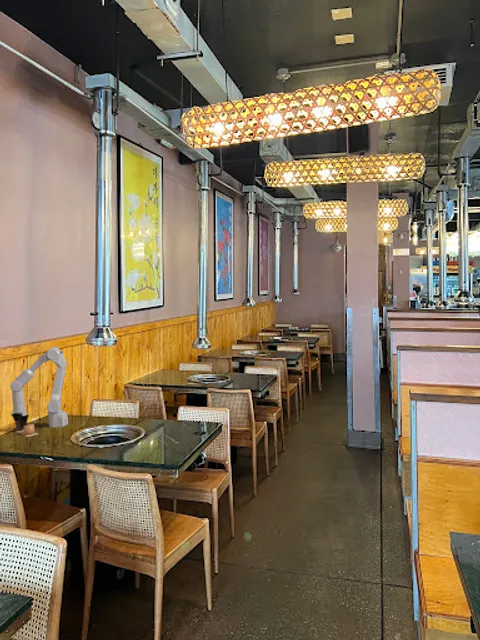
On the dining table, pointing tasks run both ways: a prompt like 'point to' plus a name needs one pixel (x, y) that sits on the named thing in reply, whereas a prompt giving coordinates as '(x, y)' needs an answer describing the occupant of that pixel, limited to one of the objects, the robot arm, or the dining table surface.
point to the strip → (21, 431)
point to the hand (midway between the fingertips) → (21, 427)
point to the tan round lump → (29, 429)
